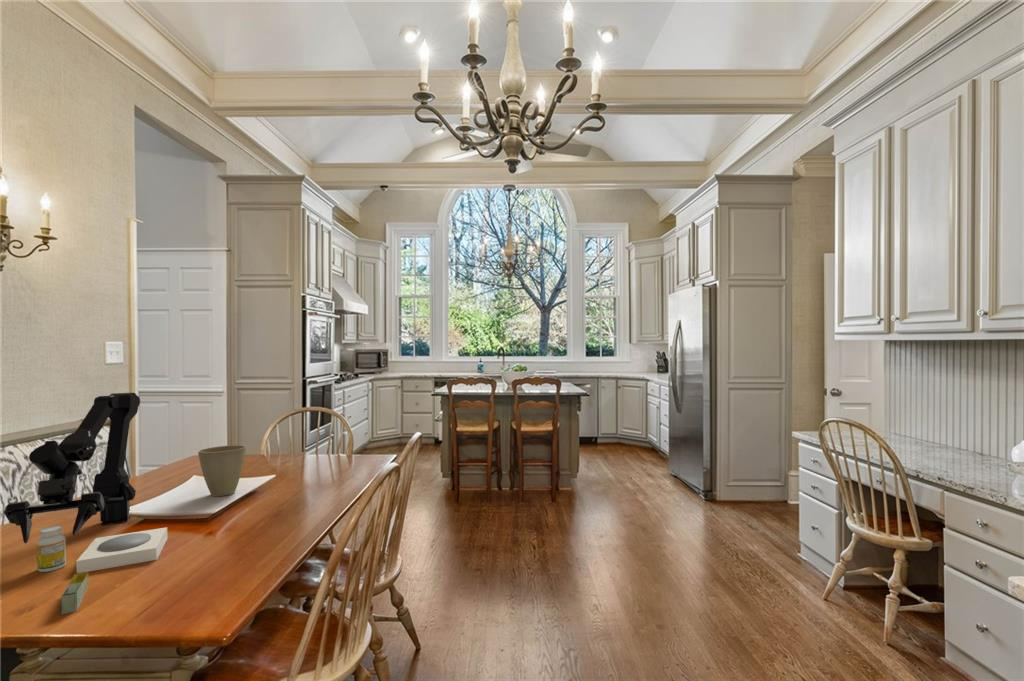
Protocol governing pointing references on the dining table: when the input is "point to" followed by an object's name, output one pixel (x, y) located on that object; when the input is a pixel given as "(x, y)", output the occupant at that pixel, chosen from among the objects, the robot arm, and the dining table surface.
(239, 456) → the plant pot
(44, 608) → the dining table surface
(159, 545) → the plinth
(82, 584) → the medication box
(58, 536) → the supplement bottle
